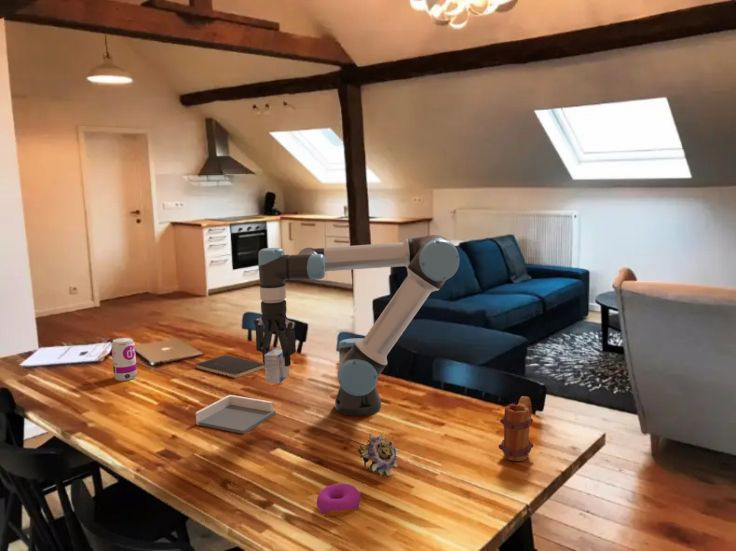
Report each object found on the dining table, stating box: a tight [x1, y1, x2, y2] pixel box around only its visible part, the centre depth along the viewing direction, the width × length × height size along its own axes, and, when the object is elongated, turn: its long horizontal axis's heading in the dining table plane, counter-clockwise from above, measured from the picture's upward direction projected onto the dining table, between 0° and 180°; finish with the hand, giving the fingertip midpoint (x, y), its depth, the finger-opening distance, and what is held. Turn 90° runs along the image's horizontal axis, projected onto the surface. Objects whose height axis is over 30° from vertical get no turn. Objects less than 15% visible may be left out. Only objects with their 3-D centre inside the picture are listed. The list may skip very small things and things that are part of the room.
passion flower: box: [356, 433, 400, 477], centre depth 165 cm, size 11×11×12 cm
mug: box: [498, 395, 534, 462], centre depth 172 cm, size 15×8×15 cm, turn 148°
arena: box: [195, 394, 277, 435], centre depth 201 cm, size 18×17×4 cm
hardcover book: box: [195, 354, 265, 379], centre depth 254 cm, size 16×23×2 cm
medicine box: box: [264, 347, 288, 384], centre depth 193 cm, size 8×4×9 cm, turn 168°
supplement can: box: [110, 337, 138, 382], centre depth 243 cm, size 8×8×15 cm
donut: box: [316, 482, 362, 517], centre depth 147 cm, size 10×10×4 cm
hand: (277, 374), depth 193 cm, fingers closed on medicine box, 5 cm apart
